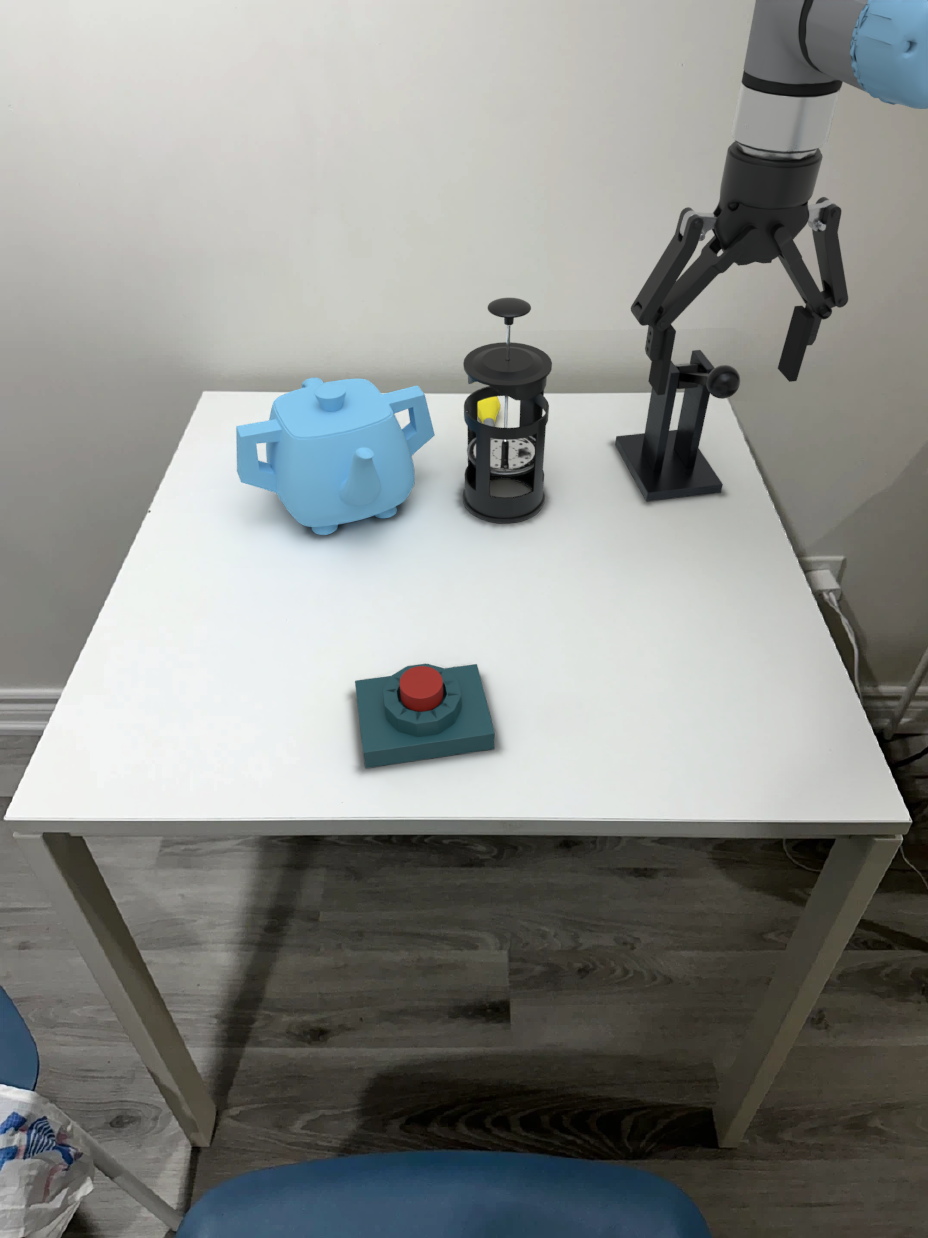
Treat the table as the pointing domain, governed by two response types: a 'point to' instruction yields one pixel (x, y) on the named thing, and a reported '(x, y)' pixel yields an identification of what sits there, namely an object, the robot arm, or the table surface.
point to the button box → (423, 719)
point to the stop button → (421, 688)
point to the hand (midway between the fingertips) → (722, 381)
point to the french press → (506, 423)
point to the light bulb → (488, 410)
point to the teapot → (336, 451)
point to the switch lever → (710, 379)
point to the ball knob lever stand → (672, 443)
